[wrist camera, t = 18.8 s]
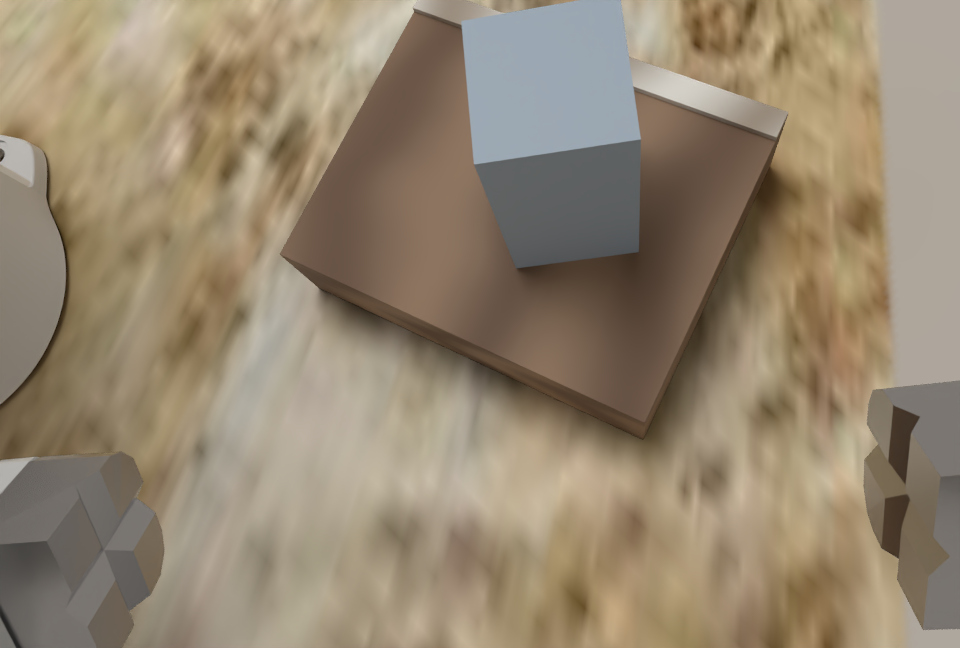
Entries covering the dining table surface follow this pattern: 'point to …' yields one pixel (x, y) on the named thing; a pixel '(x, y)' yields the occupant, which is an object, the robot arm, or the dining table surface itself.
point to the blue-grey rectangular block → (556, 130)
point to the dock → (482, 249)
